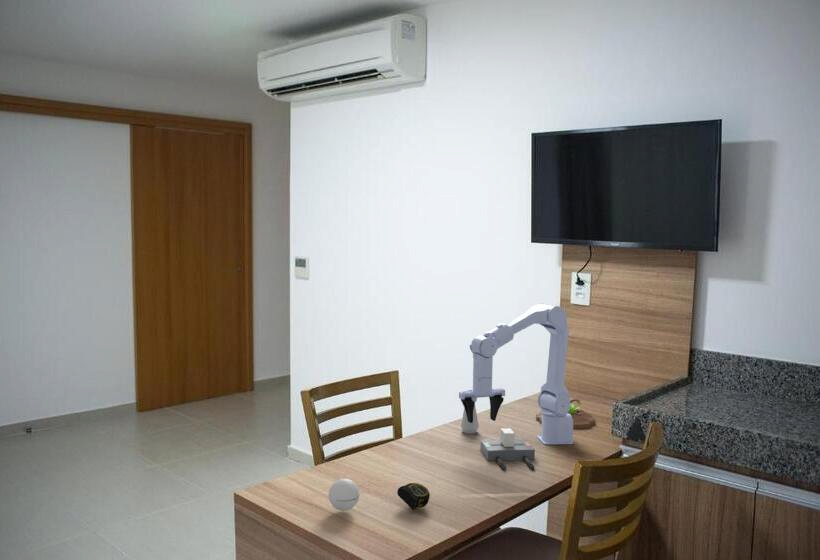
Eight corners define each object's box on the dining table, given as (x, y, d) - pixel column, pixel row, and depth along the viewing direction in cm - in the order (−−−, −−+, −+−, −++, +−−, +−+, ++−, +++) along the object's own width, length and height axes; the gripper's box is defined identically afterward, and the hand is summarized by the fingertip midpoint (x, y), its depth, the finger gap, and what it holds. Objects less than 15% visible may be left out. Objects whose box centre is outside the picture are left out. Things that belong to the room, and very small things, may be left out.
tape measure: (394, 497, 165) (397, 483, 164) (417, 493, 169) (420, 479, 168) (409, 513, 159) (413, 499, 159) (432, 508, 163) (436, 495, 162)
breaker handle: (510, 441, 204) (510, 428, 204) (514, 446, 199) (514, 433, 199) (500, 441, 204) (500, 428, 204) (504, 446, 199) (504, 433, 199)
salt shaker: (478, 430, 226) (479, 392, 225) (478, 436, 220) (479, 396, 219) (461, 430, 226) (461, 391, 225) (460, 435, 221) (461, 396, 220)
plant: (596, 418, 245) (597, 387, 244) (592, 433, 226) (593, 400, 226) (540, 412, 251) (541, 382, 251) (532, 426, 233) (533, 394, 232)
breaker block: (525, 448, 208) (525, 438, 208) (534, 459, 198) (534, 449, 198) (480, 449, 206) (480, 439, 206) (487, 460, 196) (487, 450, 196)
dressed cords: (526, 459, 198) (526, 455, 198) (535, 470, 189) (535, 465, 189) (495, 459, 197) (495, 455, 197) (502, 470, 188) (502, 466, 188)
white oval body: (327, 516, 157) (328, 485, 156) (328, 503, 164) (328, 474, 163) (371, 515, 158) (371, 484, 157) (369, 502, 165) (370, 473, 164)
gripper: (497, 372, 209) (496, 415, 210) (455, 375, 204) (454, 419, 205) (509, 376, 202) (507, 421, 203) (465, 380, 197) (464, 425, 198)
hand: (481, 420), depth 203 cm, fingers open, 7 cm apart
